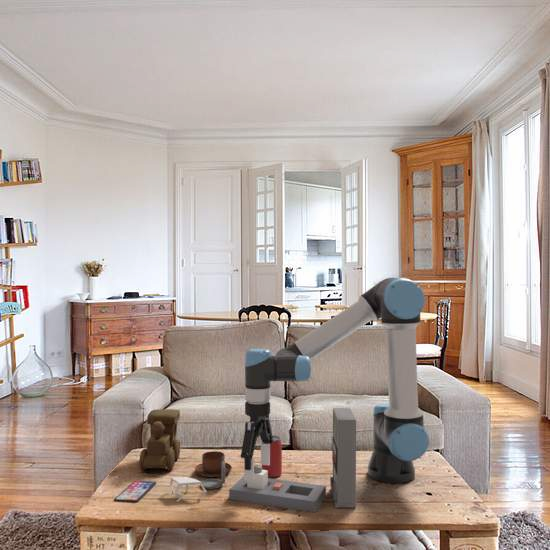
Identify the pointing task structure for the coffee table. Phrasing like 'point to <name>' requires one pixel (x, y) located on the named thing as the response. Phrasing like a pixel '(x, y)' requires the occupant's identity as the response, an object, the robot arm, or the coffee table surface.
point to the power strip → (281, 494)
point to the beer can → (274, 458)
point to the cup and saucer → (212, 465)
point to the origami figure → (185, 481)
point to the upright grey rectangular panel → (344, 458)
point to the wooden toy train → (161, 440)
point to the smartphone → (135, 491)
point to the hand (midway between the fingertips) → (257, 472)
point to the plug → (259, 478)
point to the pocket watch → (215, 482)
